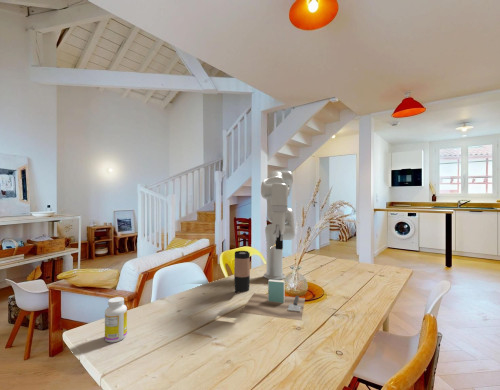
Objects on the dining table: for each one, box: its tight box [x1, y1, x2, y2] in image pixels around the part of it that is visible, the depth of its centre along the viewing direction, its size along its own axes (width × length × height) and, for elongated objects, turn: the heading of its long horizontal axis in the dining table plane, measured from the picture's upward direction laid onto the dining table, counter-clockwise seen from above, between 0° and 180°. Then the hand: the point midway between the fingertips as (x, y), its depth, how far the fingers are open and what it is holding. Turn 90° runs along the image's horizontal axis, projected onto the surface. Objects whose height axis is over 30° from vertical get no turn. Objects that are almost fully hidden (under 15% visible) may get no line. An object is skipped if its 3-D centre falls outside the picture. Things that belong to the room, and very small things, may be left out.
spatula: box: [287, 295, 301, 312], centre depth 112 cm, size 15×5×1 cm, turn 164°
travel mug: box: [233, 250, 251, 294], centre depth 130 cm, size 8×8×20 cm
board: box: [240, 292, 306, 321], centre depth 112 cm, size 22×24×2 cm
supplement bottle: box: [104, 296, 128, 343], centre depth 88 cm, size 7×7×13 cm
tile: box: [267, 279, 286, 303], centre depth 115 cm, size 2×7×9 cm, turn 75°
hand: (279, 248), depth 122 cm, fingers closed
